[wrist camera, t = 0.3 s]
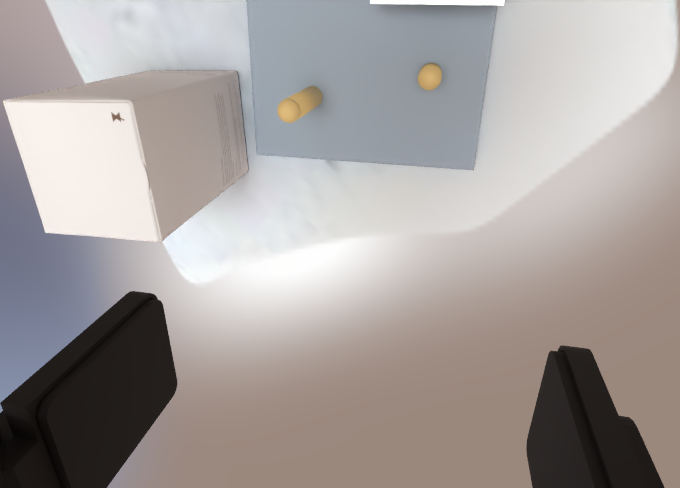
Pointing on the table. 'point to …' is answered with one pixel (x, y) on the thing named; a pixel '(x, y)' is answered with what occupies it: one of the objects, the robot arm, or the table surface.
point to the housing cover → (440, 2)
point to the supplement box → (130, 151)
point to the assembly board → (369, 80)
